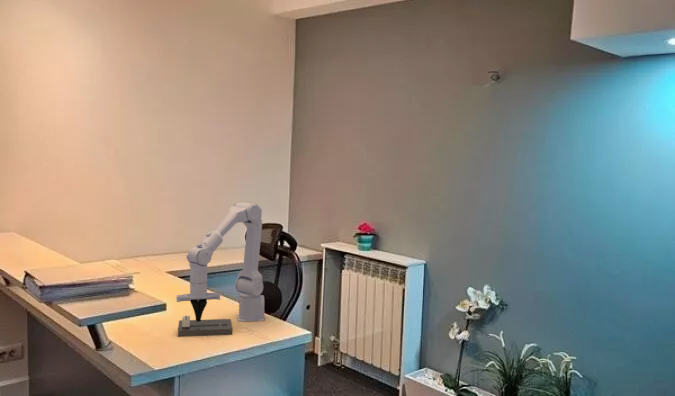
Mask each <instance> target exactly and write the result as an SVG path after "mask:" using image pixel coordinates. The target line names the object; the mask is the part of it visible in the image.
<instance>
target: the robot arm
mask: <svg viewBox="0 0 675 396" xmlns="http://www.w3.org/2000/svg"><path fill="white" fill-rule="evenodd" d="M262 212H263V209H262V208H261V207H260V206H259V204H257V203H251V202H250V203H249V202H243V201H236V202H234V203H233V205H232V206H231V207H230V208H229V211H228V213H227V214H226V216H225V217H224V218H223V220H222V221H221V222H220V223H219V224H218V226H217V227H216V229H215V230H211V231H210V230H209V232H206V234H205V236H204V237H203V238H202V240H201V241H200V242H198V243H197V244H196V246H193V247H191V248H190V249H189V251H188V252H187V255H186V260H187V262H188V264H189V268H190V269H189V271H190V272H189V293H185V294H176V302H177V303H180V302H190V304H191V306H192V309H193V312H194V315H195V320H196V322H200V321H201V320H202V316H203V314H204V310H205V308H206V307H207V304H208V301H211V300H212V301H213V300H218V301H219V300H220V301H221V293H220V292H208V264H209V263H211V261H212V257H213V254H214V252H215V251H216V250H217V249H218V247H220V246H221V245H222V243H223V237H224V236H225V235H226V234H227V233H228V232H229V231H230V230H231V229H232V228H233V227H234V226H236V224H238V223H242V224H243V225H244V226H245V227H246V235H245V244H244V253H243V254H244V256H243V265H242V269H241V270H240V271H239V272H238V273H237V279H236V280H235V282H234V283H235V284H234V287H235V290H236V292H238V293H237V294H238V295H239V296H238V304H239V305H238V314H237V315H236V316H237V321H238V323H240V322H264V321H265V295H263V294H262V293H263V291H264V283H263V275H262V274H261V272H260V271H259V260H260V251H261V250H260V249H261V239H262V233H263V232H262V231H263V230H262V229H263V220H262ZM261 294H262V295H261Z"/></svg>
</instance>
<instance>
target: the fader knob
mask: <svg viewBox="0 0 675 396" xmlns="http://www.w3.org/2000/svg"><path fill="white" fill-rule="evenodd" d="M181 318H182V319H181V320H182V327H190V320H191V315H182V317H181Z"/></svg>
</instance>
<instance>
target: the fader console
mask: <svg viewBox="0 0 675 396" xmlns="http://www.w3.org/2000/svg"><path fill="white" fill-rule="evenodd" d="M177 327H178V328H177V329H178V330H177V337H178V338H180V337H204V336H207V337H209V336H228V335H229V336H230V335H231V336H233V325H232V319H231V318H223V319H222V318H217V319H201V321H200V322H196V319H190V327H182V319H181V320H180V319H179V320H178V326H177Z"/></svg>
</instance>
